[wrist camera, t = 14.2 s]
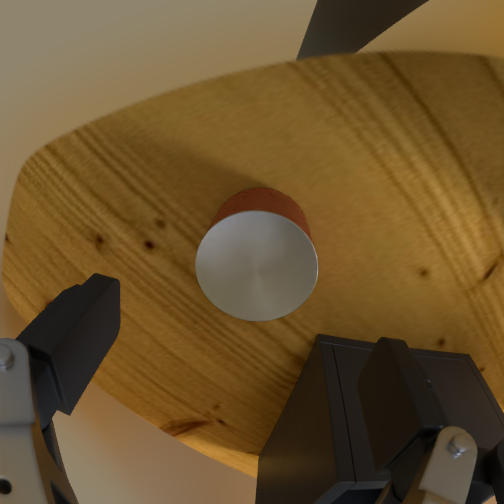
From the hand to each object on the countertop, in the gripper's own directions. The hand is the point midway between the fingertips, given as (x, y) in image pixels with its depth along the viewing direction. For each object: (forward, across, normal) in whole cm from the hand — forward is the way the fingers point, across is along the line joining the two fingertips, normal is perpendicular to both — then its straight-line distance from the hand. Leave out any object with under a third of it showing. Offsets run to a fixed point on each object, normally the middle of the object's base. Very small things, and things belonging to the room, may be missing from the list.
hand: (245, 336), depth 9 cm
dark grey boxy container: (+8, -11, +13) cm, 18 cm away
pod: (+8, 0, 0) cm, 8 cm away
